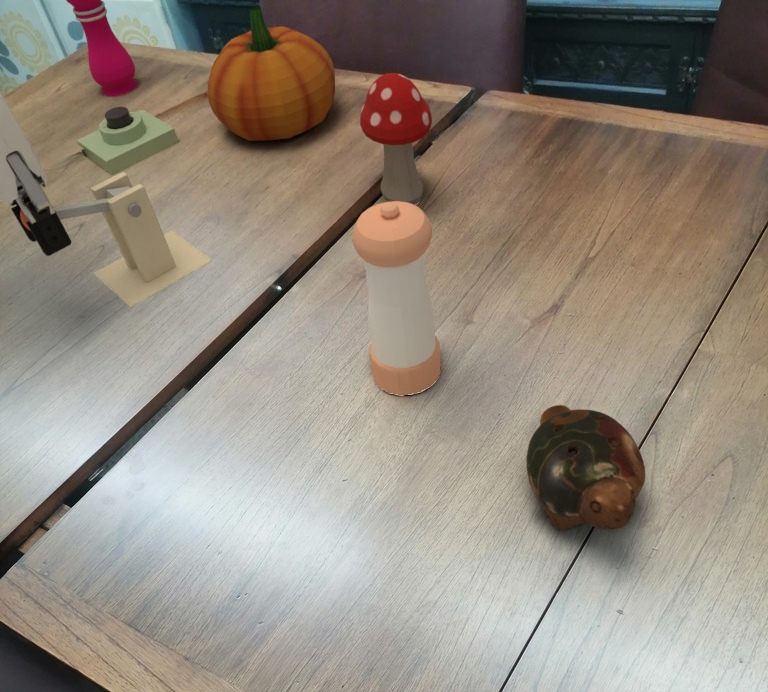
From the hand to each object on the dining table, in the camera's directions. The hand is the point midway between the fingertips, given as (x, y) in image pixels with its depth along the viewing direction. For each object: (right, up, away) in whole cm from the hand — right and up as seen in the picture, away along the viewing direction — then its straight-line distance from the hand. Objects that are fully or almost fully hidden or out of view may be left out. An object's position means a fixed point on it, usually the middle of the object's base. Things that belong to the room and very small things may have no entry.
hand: (50, 240), depth 78 cm
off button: (-3, +29, +28) cm, 40 cm away
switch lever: (+3, +2, +1) cm, 4 cm away
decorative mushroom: (+40, +12, +15) cm, 44 cm away
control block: (-2, +27, +31) cm, 41 cm away
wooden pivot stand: (+8, 0, +11) cm, 14 cm away
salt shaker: (+40, -16, -4) cm, 43 cm away
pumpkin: (+21, +31, +31) cm, 49 cm away
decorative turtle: (+55, -29, -15) cm, 64 cm away
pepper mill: (-7, +41, +42) cm, 59 cm away
